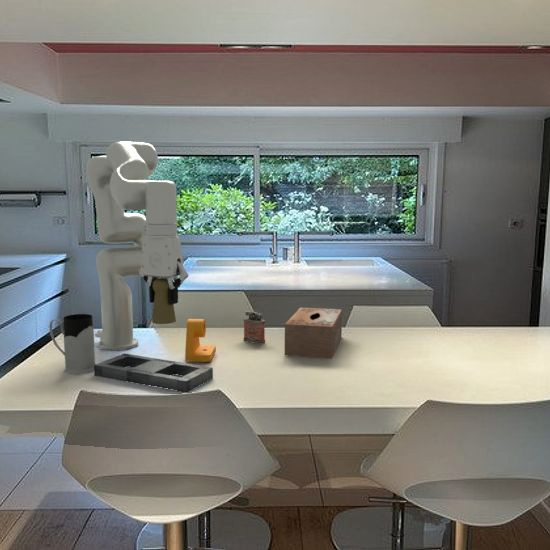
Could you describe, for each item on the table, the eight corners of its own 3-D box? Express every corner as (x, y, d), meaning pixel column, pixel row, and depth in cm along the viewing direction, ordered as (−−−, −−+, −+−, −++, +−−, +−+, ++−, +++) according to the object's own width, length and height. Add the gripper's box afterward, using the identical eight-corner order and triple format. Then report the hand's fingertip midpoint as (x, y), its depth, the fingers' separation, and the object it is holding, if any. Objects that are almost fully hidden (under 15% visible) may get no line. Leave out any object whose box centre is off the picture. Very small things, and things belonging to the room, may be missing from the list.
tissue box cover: (331, 359, 163) (332, 326, 162) (284, 356, 167) (284, 324, 165) (341, 337, 188) (341, 309, 187) (300, 335, 191) (300, 307, 190)
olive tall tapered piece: (164, 325, 135) (163, 281, 134) (146, 322, 139) (145, 279, 137) (181, 320, 140) (180, 278, 139) (164, 317, 144) (162, 276, 142)
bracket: (210, 364, 158) (209, 323, 156) (185, 363, 158) (184, 323, 157) (216, 353, 168) (215, 315, 167) (193, 353, 169) (192, 315, 167)
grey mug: (82, 376, 147) (80, 321, 145) (41, 370, 152) (37, 317, 150) (103, 366, 155) (101, 314, 153) (63, 361, 160) (60, 311, 158)
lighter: (267, 342, 182) (267, 312, 180) (261, 344, 179) (261, 314, 178) (247, 338, 186) (247, 309, 185) (241, 340, 183) (241, 311, 182)
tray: (94, 375, 148) (93, 364, 147) (124, 363, 158) (124, 353, 158) (186, 392, 135) (186, 381, 134) (212, 378, 145) (212, 367, 145)
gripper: (125, 230, 137) (127, 302, 139) (180, 233, 129) (182, 308, 132) (145, 229, 143) (147, 297, 146) (199, 231, 136) (200, 303, 138)
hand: (163, 302), depth 139 cm, fingers closed on olive tall tapered piece, 5 cm apart
